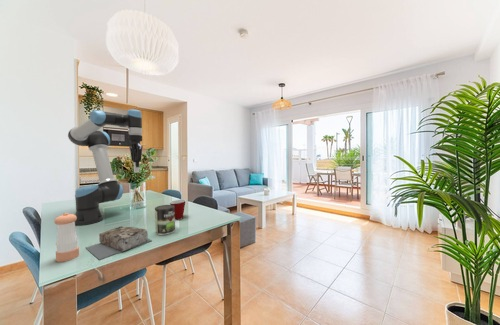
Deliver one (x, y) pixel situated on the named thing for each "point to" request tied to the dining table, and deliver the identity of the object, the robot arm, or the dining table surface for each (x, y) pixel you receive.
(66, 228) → the salt shaker
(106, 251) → the mat
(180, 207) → the plastic cup
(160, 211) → the coffee can
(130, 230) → the stone block
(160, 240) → the dining table surface
